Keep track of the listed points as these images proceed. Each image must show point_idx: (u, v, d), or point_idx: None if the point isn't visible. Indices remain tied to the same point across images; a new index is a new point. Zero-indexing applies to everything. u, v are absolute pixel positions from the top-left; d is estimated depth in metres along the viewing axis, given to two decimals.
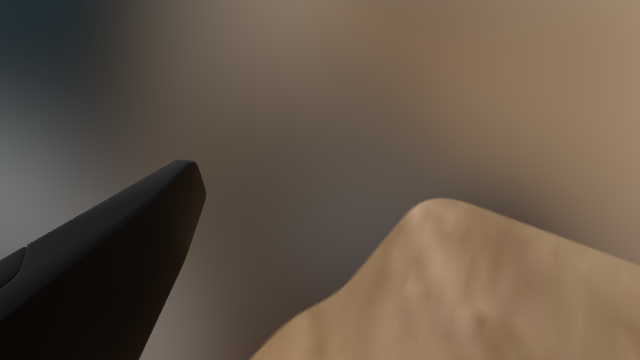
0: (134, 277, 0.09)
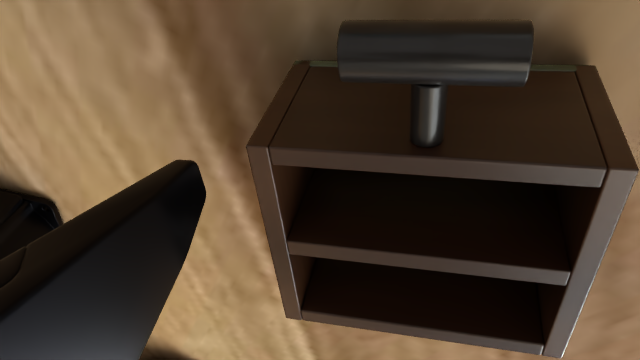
0: (134, 277, 0.09)
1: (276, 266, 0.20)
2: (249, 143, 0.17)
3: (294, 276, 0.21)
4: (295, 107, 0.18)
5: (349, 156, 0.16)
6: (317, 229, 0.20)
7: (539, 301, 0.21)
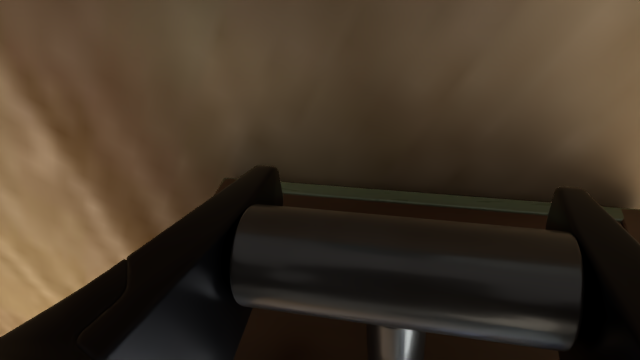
0: (228, 290, 0.08)
1: None
2: None
3: None
4: None
5: None
6: None
7: None
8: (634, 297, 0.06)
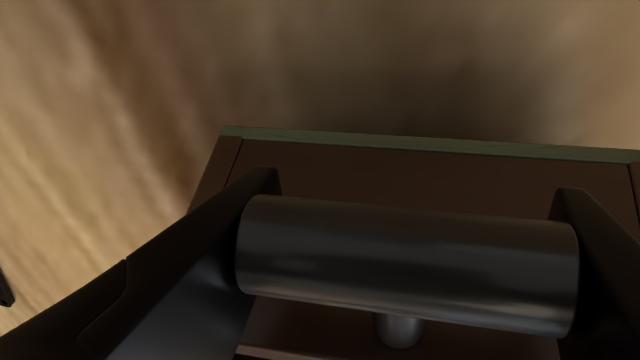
0: (227, 290, 0.08)
1: None
2: None
3: None
4: None
5: (284, 354, 0.11)
6: None
7: None
8: (635, 297, 0.06)
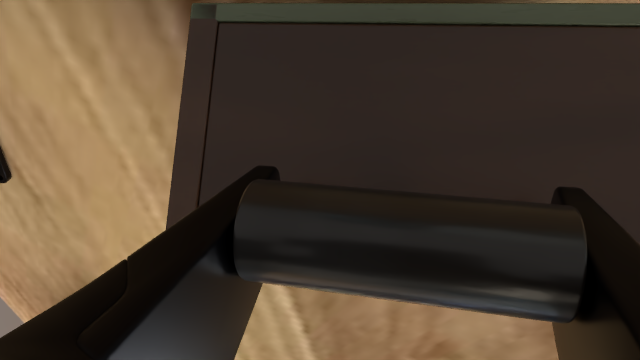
0: (228, 290, 0.08)
1: None
2: None
3: None
4: (213, 154, 0.12)
5: None
6: None
7: None
8: (633, 297, 0.06)
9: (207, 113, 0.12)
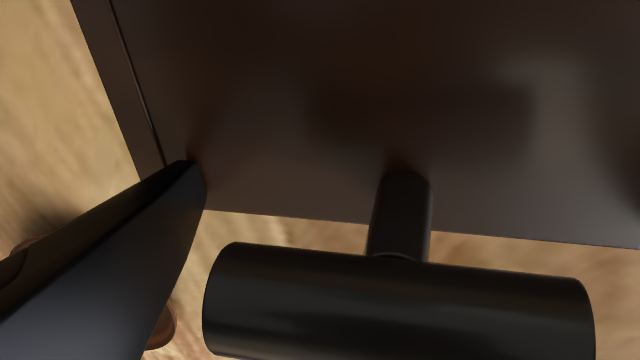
0: (136, 277, 0.09)
1: None
2: None
3: None
4: (159, 113, 0.10)
5: None
6: None
7: None
8: None
9: (130, 65, 0.09)
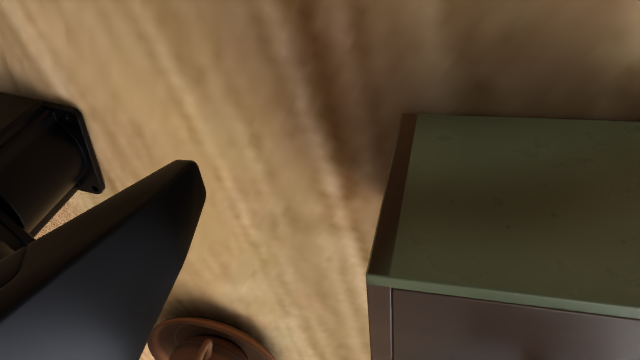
0: (134, 277, 0.09)
1: None
2: None
3: None
4: (400, 352, 0.17)
5: None
6: None
7: None
8: None
9: (392, 334, 0.17)
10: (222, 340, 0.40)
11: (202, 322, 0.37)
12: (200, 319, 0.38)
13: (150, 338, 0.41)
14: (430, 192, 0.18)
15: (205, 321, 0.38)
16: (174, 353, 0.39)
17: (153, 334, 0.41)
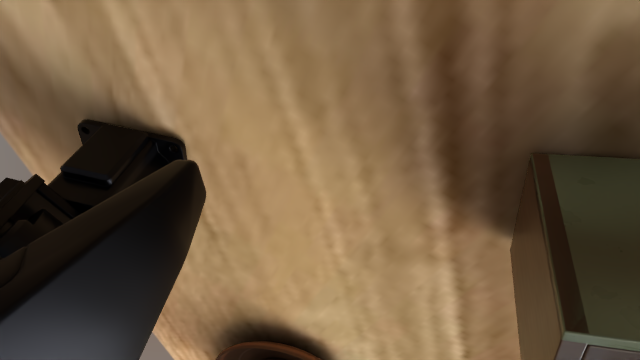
0: (134, 277, 0.09)
1: None
2: None
3: None
4: None
5: None
6: None
7: None
8: None
9: None
10: None
11: (276, 347, 0.37)
12: (273, 343, 0.38)
13: None
14: (595, 241, 0.18)
15: (279, 346, 0.37)
16: None
17: (220, 357, 0.40)
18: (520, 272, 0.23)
